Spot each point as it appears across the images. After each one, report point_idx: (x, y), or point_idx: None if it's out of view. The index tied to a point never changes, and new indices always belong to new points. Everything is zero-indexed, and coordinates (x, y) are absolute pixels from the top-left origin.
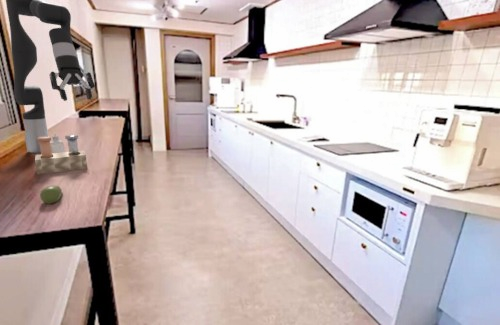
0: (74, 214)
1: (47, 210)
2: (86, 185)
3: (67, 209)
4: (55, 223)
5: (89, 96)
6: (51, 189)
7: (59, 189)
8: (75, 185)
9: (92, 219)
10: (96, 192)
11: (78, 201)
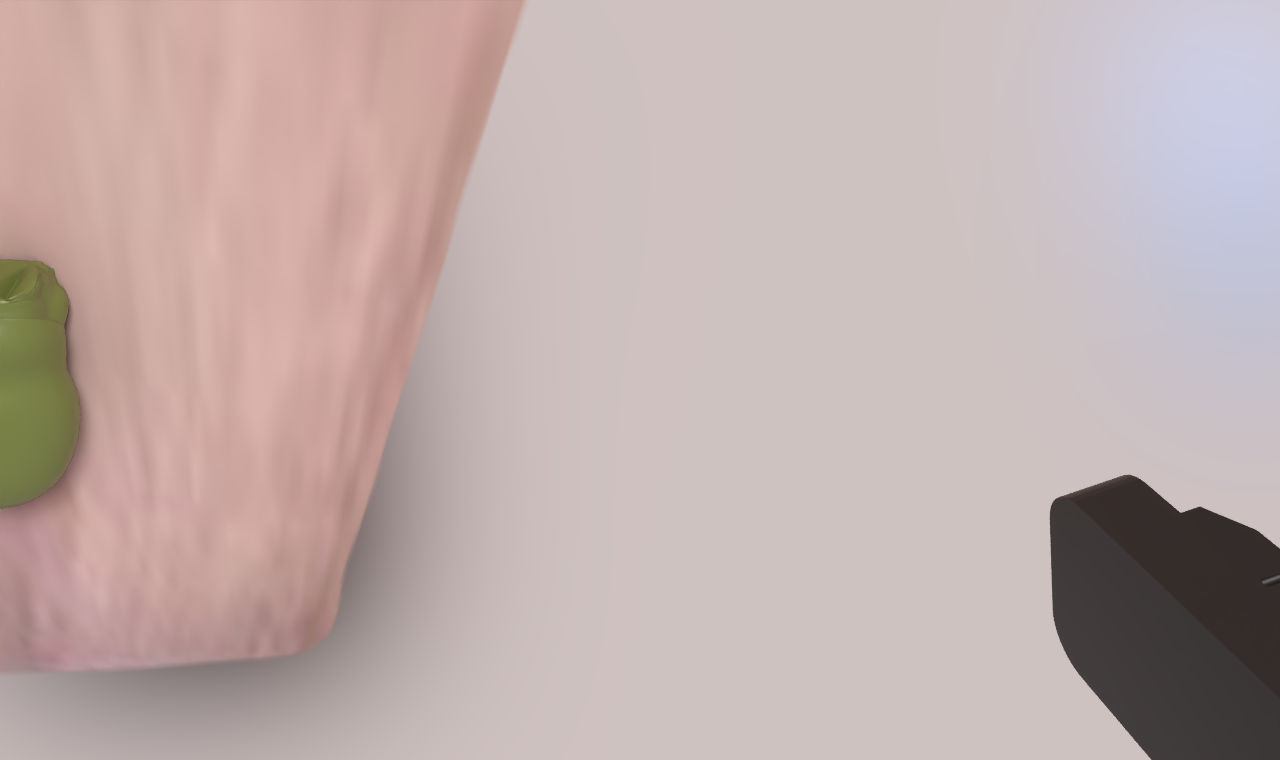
0: (194, 567)
1: None
2: (275, 126)
3: (144, 509)
4: (98, 626)
5: (1112, 692)
6: (17, 504)
7: (70, 444)
8: (161, 80)
9: (290, 621)
10: (349, 316)
11: (210, 425)
